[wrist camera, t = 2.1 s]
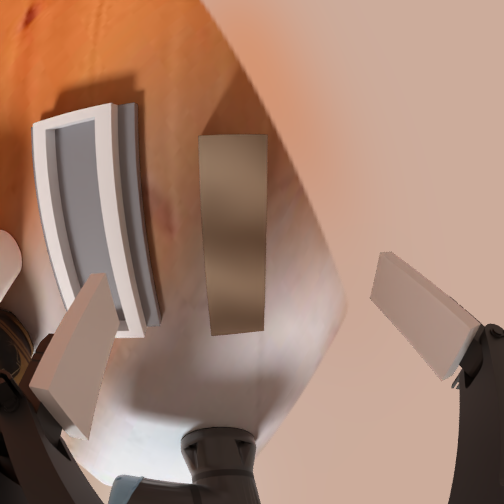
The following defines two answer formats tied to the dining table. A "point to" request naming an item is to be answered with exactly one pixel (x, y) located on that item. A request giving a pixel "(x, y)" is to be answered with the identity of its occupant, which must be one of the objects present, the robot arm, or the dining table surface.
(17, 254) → the cup
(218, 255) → the beige textured block
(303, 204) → the dining table surface
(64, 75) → the dining table surface
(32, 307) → the dining table surface
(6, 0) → the dining table surface
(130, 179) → the track base
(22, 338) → the ceramic jug
